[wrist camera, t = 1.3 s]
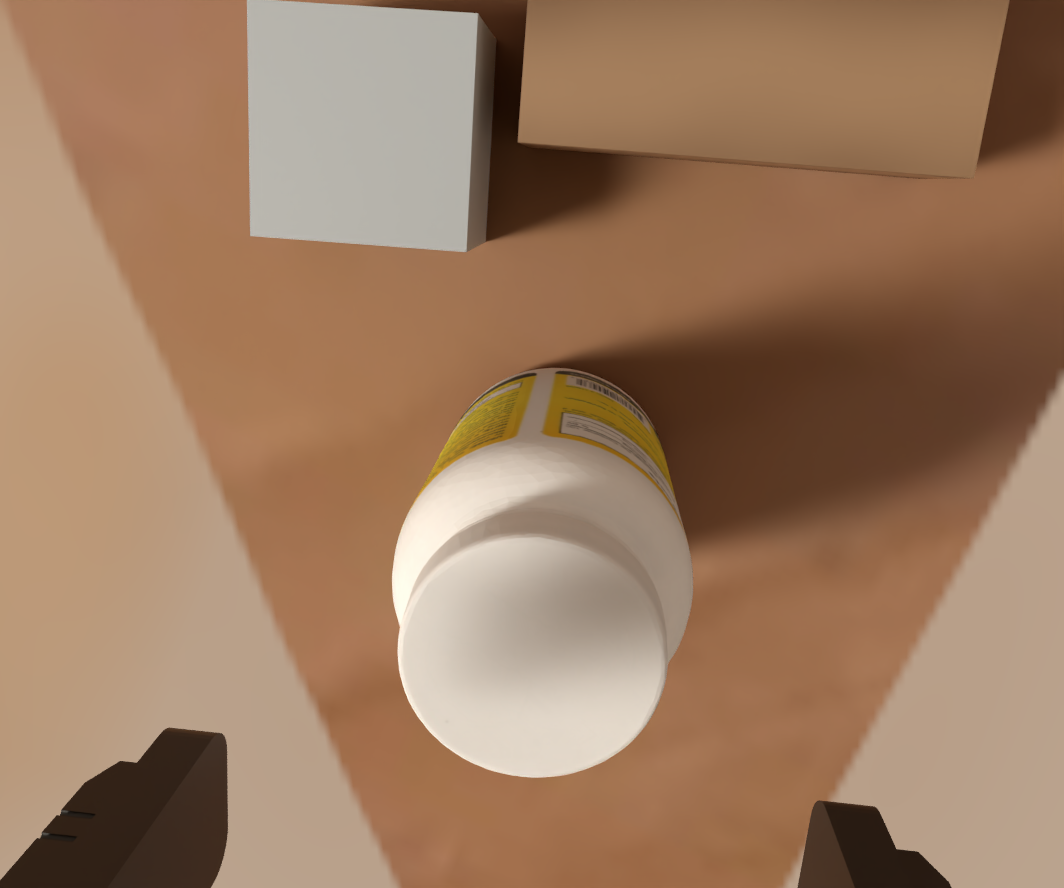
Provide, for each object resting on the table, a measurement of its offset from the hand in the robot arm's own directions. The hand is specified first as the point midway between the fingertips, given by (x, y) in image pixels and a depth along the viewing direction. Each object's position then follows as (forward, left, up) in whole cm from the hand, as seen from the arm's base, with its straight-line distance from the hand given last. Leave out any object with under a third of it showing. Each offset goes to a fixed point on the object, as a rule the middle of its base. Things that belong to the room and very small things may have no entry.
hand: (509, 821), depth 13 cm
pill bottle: (0, 0, -15) cm, 15 cm away
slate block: (-9, -5, -15) cm, 18 cm away
